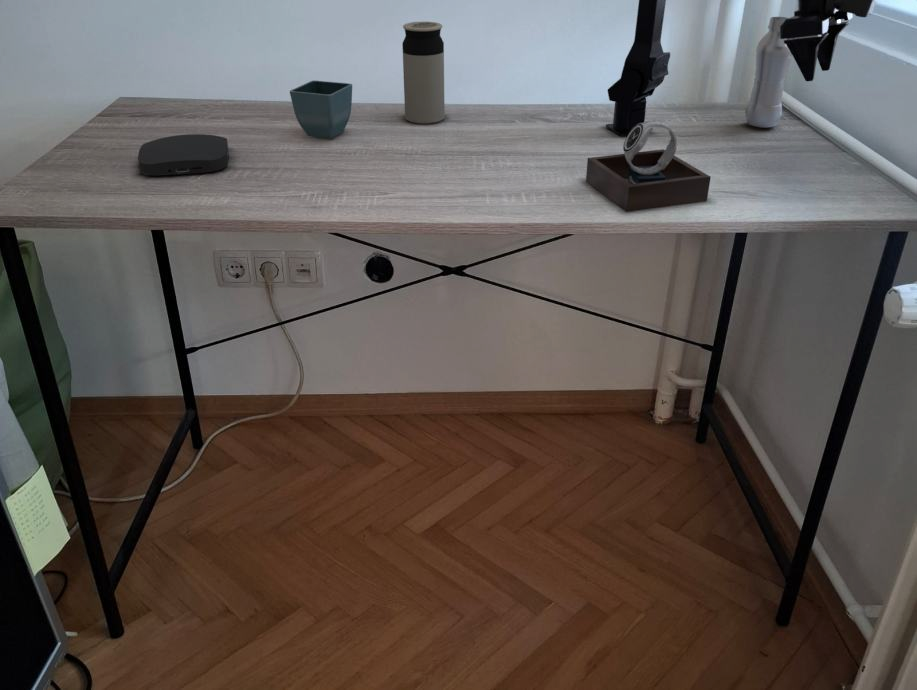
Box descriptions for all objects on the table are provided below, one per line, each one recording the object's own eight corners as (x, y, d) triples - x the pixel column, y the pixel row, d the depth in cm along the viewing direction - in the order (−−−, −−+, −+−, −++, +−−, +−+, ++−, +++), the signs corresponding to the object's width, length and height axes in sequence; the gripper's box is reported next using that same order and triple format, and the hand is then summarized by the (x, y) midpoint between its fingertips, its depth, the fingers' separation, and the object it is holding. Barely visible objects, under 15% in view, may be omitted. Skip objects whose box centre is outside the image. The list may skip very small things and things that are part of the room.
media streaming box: (147, 151, 150) (143, 135, 148) (230, 146, 152) (227, 130, 151) (137, 179, 138) (133, 161, 136) (228, 173, 140) (225, 155, 139)
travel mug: (452, 117, 168) (451, 23, 159) (430, 127, 163) (428, 30, 153) (419, 111, 172) (417, 19, 163) (397, 120, 166) (393, 26, 157)
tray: (585, 181, 136) (587, 157, 134) (660, 172, 140) (663, 149, 138) (626, 212, 125) (629, 186, 123) (706, 201, 129) (710, 176, 127)
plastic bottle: (780, 132, 159) (803, 22, 149) (744, 130, 160) (763, 21, 150) (776, 122, 165) (797, 15, 154) (741, 120, 166) (760, 14, 155)
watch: (615, 185, 135) (622, 118, 129) (663, 184, 135) (672, 116, 130) (624, 198, 130) (632, 128, 124) (674, 196, 131) (684, 127, 125)
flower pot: (293, 138, 156) (287, 90, 152) (317, 125, 163) (312, 79, 159) (334, 144, 154) (330, 95, 149) (356, 130, 161) (353, 83, 156)
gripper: (858, -31, 118) (856, 82, 124) (888, -42, 131) (885, 60, 137) (778, -19, 124) (780, 88, 130) (813, -31, 137) (814, 67, 143)
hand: (817, 75), depth 135 cm, fingers open, 9 cm apart
